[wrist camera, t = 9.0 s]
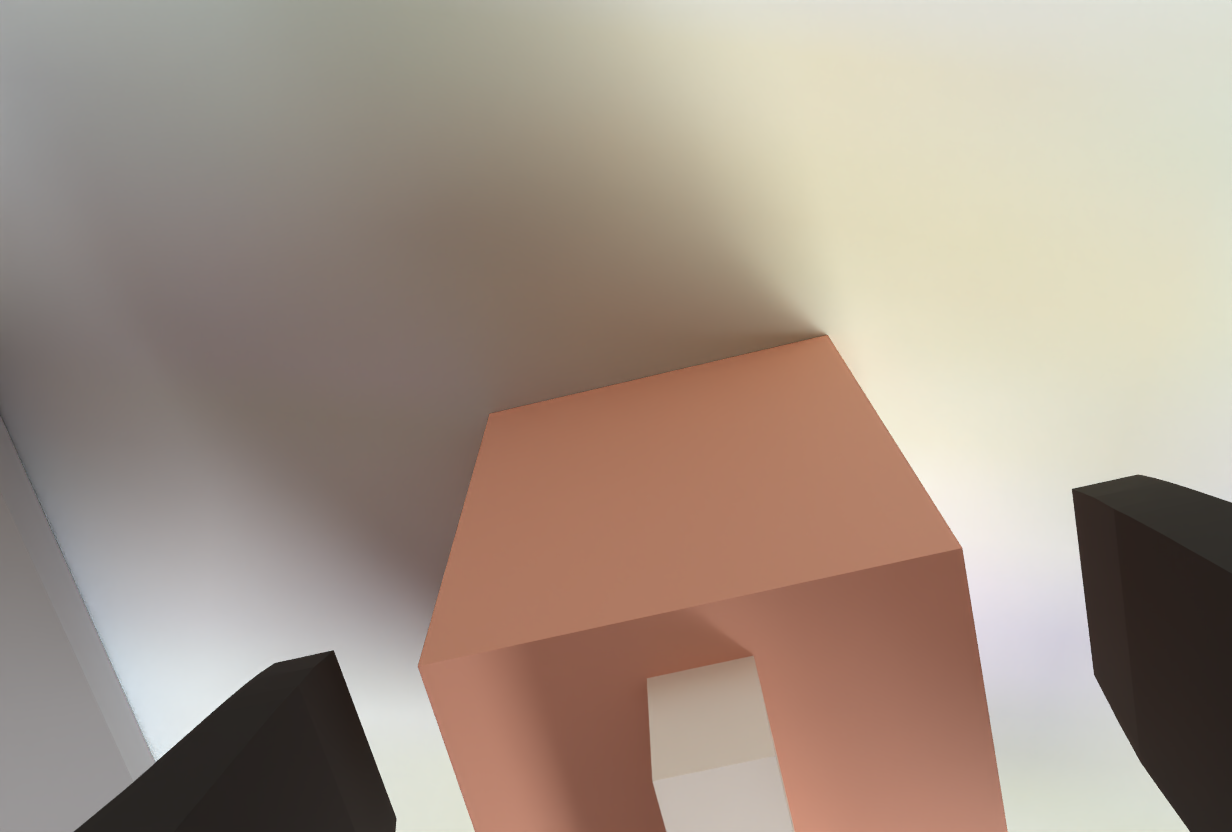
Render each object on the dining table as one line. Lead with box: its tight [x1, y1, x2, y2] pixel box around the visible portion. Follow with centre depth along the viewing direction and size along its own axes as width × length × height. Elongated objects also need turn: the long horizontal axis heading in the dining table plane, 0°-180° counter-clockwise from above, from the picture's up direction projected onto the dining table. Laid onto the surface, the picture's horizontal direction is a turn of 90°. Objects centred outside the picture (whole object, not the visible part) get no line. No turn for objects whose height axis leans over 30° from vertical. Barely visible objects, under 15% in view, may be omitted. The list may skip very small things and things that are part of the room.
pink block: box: [418, 335, 1008, 832], centre depth 11 cm, size 4×4×7 cm
